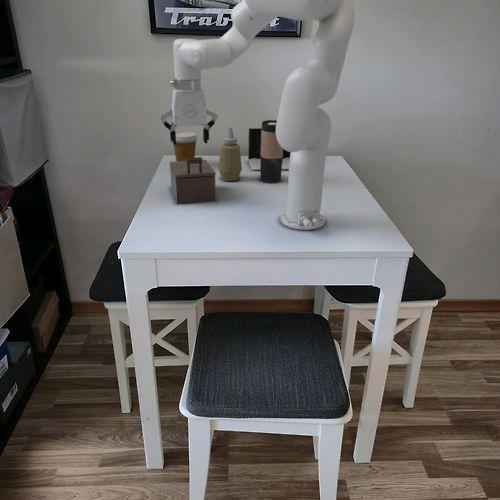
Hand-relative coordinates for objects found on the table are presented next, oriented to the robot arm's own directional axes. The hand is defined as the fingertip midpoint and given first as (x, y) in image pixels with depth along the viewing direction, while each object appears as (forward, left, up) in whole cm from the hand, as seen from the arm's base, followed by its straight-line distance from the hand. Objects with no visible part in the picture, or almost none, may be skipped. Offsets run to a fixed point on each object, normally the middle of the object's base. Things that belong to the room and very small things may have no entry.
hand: (190, 143), depth 146 cm
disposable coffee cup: (+30, -1, -17) cm, 34 cm away
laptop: (+25, -34, -17) cm, 45 cm away
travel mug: (+9, -29, -17) cm, 34 cm away
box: (-1, 0, -16) cm, 16 cm away
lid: (-2, 0, -8) cm, 8 cm away
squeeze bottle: (+12, -15, -17) cm, 25 cm away
